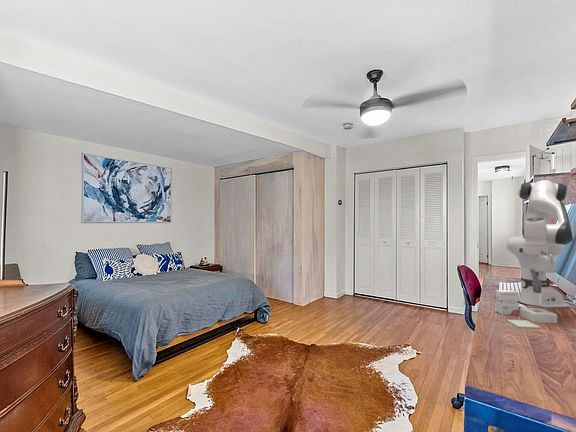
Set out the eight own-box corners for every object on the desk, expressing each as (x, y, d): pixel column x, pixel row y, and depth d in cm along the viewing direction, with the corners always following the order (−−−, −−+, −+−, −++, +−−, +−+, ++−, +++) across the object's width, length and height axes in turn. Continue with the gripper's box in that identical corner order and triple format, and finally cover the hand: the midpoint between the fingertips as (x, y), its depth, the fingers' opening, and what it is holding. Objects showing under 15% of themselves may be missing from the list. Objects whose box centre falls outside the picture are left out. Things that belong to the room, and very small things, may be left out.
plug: (538, 291, 144) (537, 271, 144) (543, 293, 141) (542, 272, 141) (531, 291, 144) (530, 271, 144) (535, 293, 141) (535, 272, 141)
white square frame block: (541, 316, 146) (541, 308, 146) (557, 323, 136) (557, 314, 136) (520, 315, 147) (519, 307, 148) (533, 322, 138) (533, 313, 138)
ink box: (513, 312, 153) (512, 289, 153) (519, 315, 148) (519, 292, 149) (495, 311, 154) (495, 289, 154) (501, 314, 149) (501, 291, 149)
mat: (527, 321, 138) (527, 320, 138) (540, 328, 130) (540, 327, 130) (506, 321, 140) (506, 319, 140) (518, 327, 131) (518, 326, 131)
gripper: (559, 253, 132) (560, 283, 132) (529, 248, 152) (530, 274, 152) (544, 253, 133) (545, 283, 133) (516, 248, 153) (516, 274, 153)
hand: (536, 278), depth 142 cm, fingers closed on plug, 3 cm apart
